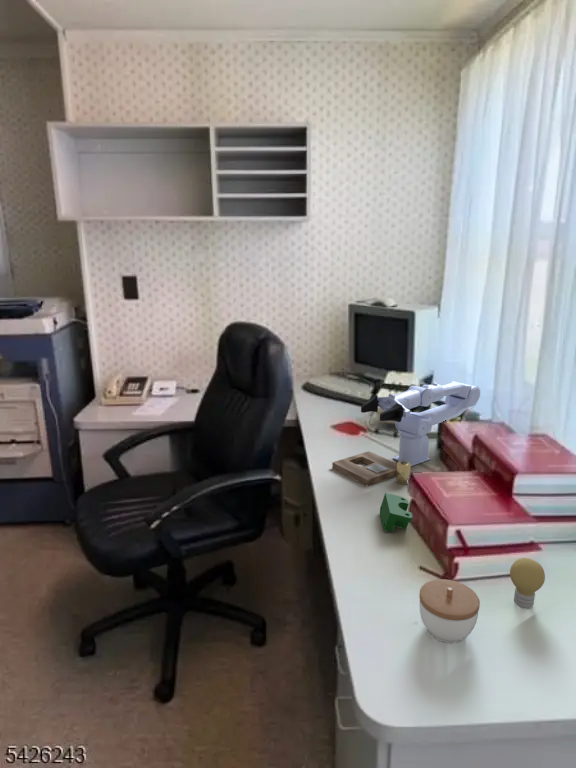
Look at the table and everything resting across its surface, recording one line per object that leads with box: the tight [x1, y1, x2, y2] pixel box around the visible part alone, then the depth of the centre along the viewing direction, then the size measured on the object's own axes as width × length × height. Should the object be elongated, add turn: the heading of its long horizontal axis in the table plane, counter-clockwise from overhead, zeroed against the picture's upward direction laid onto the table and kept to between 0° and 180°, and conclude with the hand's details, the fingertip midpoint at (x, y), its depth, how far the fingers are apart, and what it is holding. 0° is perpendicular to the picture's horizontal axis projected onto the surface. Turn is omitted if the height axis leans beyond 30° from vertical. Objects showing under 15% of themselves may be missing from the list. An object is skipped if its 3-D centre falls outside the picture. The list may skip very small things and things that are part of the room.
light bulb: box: [509, 557, 546, 610], centre depth 110 cm, size 6×6×10 cm
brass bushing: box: [395, 461, 412, 485], centre depth 166 cm, size 4×4×6 cm
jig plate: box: [331, 450, 397, 487], centre depth 174 cm, size 16×16×2 cm
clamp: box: [379, 492, 413, 533], centre depth 142 cm, size 12×6×9 cm, turn 170°
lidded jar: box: [419, 578, 481, 644], centre depth 102 cm, size 11×11×9 cm
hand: (371, 413), depth 165 cm, fingers open, 7 cm apart
